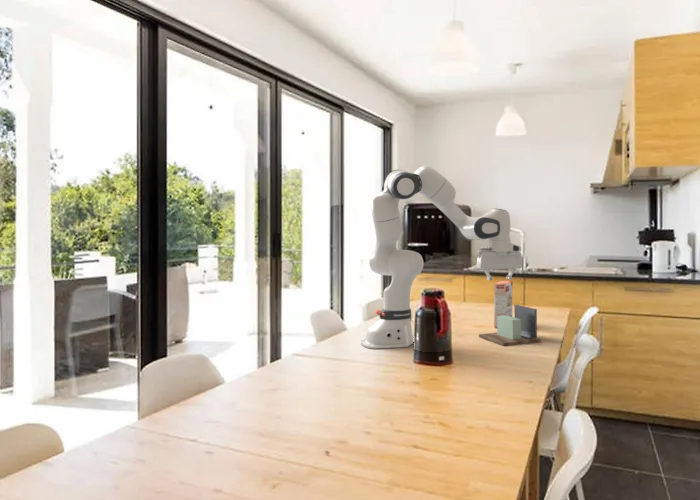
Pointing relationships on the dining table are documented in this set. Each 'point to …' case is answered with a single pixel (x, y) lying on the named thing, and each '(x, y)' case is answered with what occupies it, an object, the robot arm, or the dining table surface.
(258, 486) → the dining table surface
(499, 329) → the pale green block
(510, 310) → the cracker box
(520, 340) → the shelf board
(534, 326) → the bookend
